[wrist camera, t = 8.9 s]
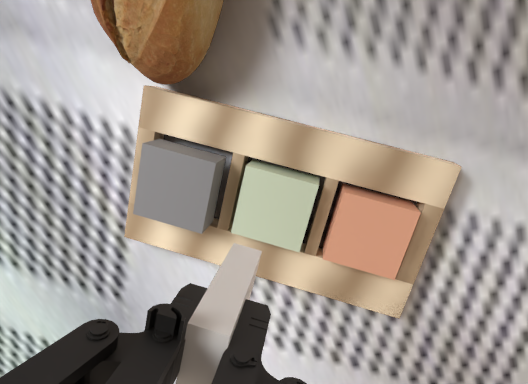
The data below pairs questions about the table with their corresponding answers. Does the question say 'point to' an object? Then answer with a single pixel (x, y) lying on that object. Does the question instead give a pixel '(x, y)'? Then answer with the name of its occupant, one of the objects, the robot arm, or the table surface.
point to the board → (305, 159)
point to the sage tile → (275, 204)
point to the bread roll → (160, 34)
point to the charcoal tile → (178, 184)
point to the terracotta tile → (369, 231)
